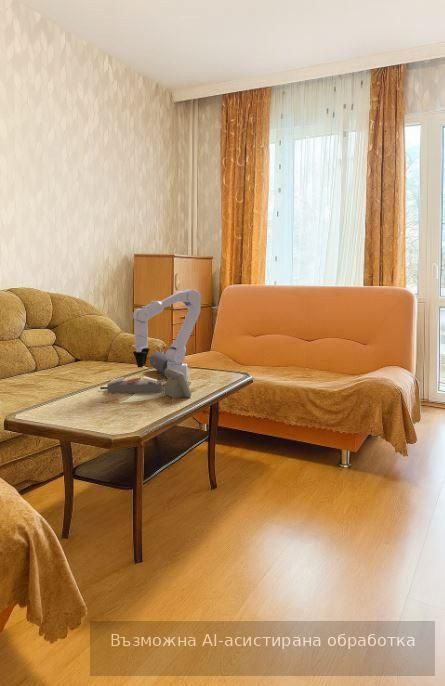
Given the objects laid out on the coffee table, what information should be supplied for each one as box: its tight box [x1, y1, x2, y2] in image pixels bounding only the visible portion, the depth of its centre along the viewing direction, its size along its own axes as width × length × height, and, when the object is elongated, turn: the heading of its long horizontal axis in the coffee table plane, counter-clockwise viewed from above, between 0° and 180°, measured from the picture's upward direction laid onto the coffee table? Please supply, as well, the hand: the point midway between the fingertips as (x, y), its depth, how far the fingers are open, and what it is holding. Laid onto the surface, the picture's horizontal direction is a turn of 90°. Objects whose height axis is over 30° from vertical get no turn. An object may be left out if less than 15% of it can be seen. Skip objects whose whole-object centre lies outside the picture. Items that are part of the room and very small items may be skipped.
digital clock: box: [164, 368, 192, 399], centre depth 217 cm, size 16×9×11 cm, turn 20°
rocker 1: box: [109, 376, 126, 383], centre depth 224 cm, size 6×3×1 cm, turn 88°
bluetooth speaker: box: [149, 351, 168, 377], centre depth 261 cm, size 23×9×10 cm, turn 23°
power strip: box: [99, 379, 162, 394], centre depth 226 cm, size 26×8×4 cm, turn 89°
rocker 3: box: [142, 375, 158, 383], centre depth 224 cm, size 6×3×1 cm, turn 90°
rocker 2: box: [125, 376, 142, 383], centre depth 224 cm, size 6×3×1 cm, turn 88°
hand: (141, 365), depth 233 cm, fingers open, 7 cm apart
